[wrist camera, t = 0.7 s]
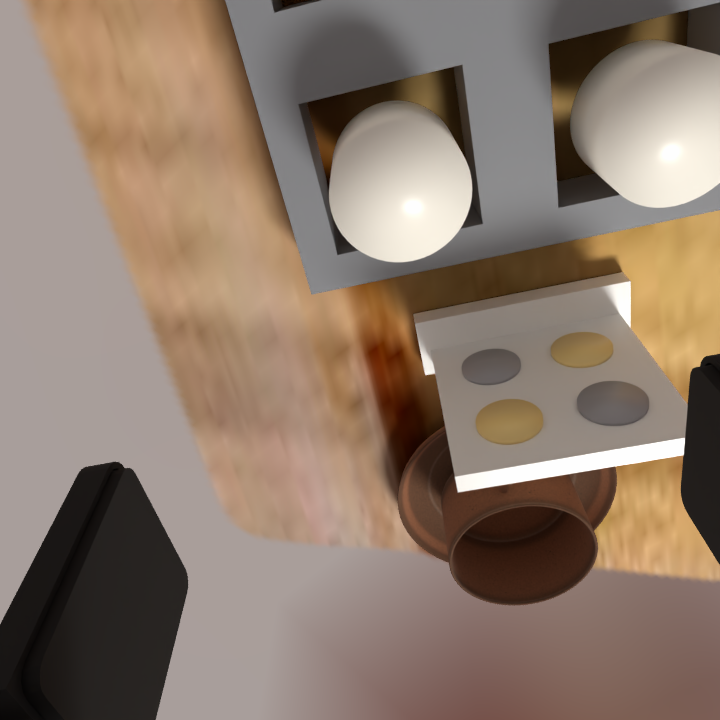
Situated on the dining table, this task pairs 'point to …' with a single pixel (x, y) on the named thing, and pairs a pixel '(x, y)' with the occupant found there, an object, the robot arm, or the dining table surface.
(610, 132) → the button
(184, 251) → the dining table surface
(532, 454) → the card
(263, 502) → the dining table surface
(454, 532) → the cup and saucer
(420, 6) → the button board
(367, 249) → the button
